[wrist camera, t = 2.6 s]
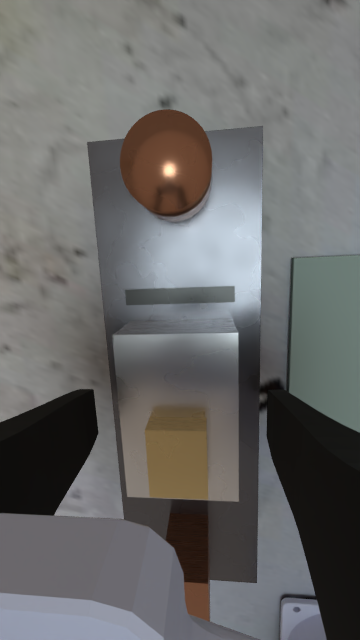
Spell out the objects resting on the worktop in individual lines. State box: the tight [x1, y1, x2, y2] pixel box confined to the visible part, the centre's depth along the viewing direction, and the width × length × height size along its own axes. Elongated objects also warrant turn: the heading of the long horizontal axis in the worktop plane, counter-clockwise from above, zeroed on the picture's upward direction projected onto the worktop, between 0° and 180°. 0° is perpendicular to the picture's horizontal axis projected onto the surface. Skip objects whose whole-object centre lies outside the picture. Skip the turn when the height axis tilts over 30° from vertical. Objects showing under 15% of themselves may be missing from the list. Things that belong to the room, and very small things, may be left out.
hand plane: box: [87, 110, 263, 622], centre depth 14 cm, size 7×22×8 cm, turn 2°
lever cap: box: [112, 319, 239, 502], centre depth 12 cm, size 5×7×3 cm, turn 3°
